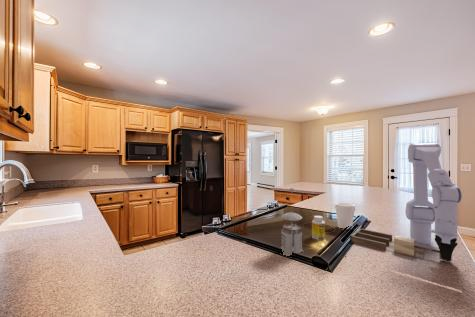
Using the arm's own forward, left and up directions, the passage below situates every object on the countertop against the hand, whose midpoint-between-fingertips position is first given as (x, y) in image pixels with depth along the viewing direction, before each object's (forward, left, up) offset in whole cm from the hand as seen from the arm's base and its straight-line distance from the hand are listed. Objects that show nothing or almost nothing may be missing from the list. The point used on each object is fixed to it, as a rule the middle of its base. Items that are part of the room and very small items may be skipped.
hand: (445, 258), depth 75 cm
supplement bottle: (+9, -42, -2) cm, 43 cm away
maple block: (0, -7, -1) cm, 7 cm away
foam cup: (-15, -38, -2) cm, 41 cm away
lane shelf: (-4, -18, -2) cm, 18 cm away
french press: (+31, -43, -2) cm, 53 cm away
